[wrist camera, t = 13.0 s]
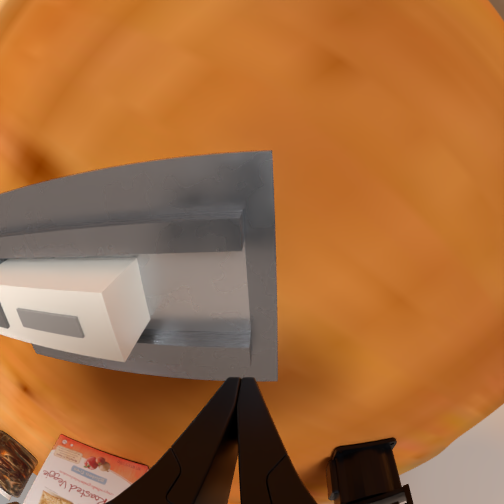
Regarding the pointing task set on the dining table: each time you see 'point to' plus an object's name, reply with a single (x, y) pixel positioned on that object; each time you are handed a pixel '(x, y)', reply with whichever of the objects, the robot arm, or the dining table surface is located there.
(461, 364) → the dining table surface
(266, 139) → the dining table surface
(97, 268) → the white rectangular block
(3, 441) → the jar
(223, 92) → the dining table surface
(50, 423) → the dining table surface
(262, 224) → the mount plate
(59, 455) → the cracker box
